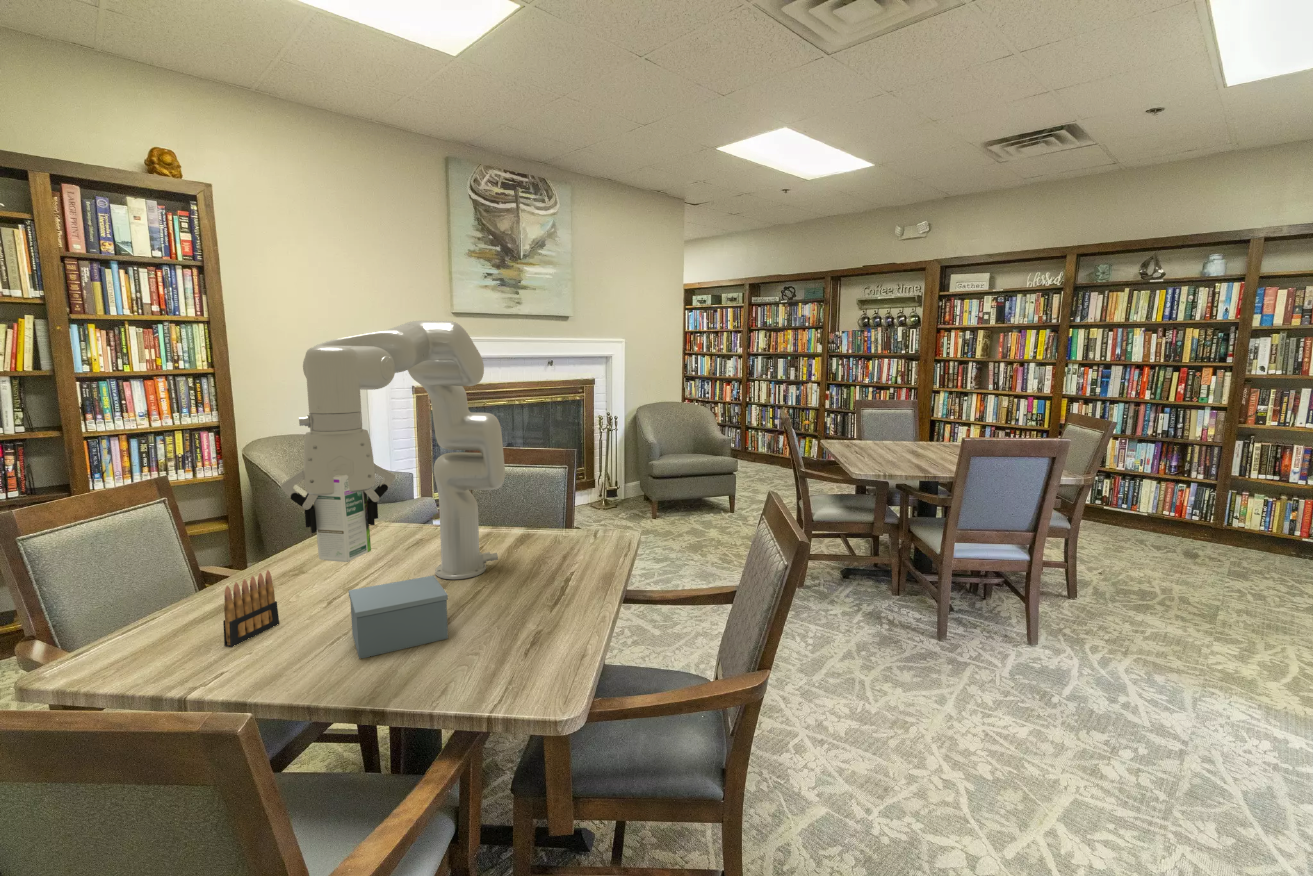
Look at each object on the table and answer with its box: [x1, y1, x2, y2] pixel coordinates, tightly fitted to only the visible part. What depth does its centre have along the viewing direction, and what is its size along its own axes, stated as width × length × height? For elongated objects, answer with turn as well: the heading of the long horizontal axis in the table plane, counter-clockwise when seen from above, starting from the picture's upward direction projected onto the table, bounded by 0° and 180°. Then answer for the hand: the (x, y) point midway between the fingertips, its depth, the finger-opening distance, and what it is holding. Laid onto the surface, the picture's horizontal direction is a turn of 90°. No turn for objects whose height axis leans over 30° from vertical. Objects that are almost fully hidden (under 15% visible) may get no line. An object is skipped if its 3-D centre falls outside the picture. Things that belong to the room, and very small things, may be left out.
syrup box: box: [313, 475, 372, 563], centre depth 99 cm, size 6×6×14 cm
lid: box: [348, 575, 449, 618], centre depth 118 cm, size 16×12×1 cm
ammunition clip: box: [223, 569, 280, 648], centre depth 119 cm, size 11×2×12 cm, turn 165°
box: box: [349, 599, 449, 660], centre depth 119 cm, size 16×12×8 cm
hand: (343, 526), depth 99 cm, fingers closed on syrup box, 8 cm apart
